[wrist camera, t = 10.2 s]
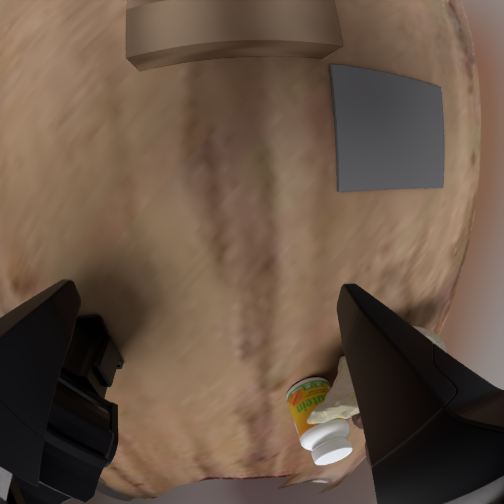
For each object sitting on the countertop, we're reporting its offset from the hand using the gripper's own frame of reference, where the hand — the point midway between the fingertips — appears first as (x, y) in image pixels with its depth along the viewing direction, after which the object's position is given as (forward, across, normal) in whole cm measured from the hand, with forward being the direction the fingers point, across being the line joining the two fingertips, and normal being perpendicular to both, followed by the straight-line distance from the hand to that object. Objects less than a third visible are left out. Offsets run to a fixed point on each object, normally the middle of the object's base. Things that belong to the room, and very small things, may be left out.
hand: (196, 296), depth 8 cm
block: (+14, 0, -16) cm, 21 cm away
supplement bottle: (+10, -9, +23) cm, 27 cm away
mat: (+15, -14, -5) cm, 21 cm away
